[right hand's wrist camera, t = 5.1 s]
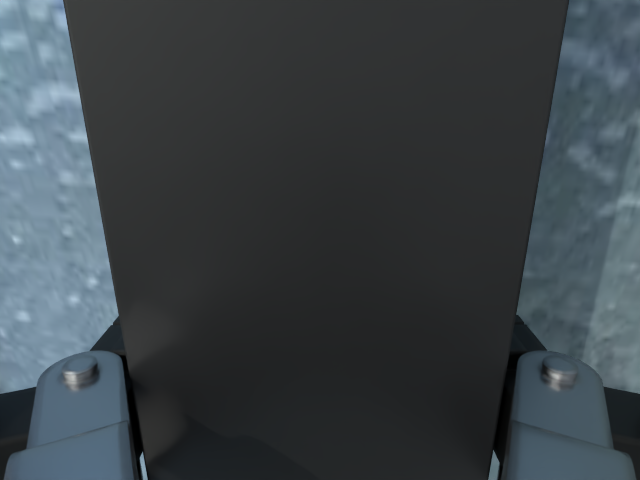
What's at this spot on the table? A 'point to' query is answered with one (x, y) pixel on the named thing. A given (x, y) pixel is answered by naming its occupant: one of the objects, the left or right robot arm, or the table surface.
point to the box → (317, 224)
